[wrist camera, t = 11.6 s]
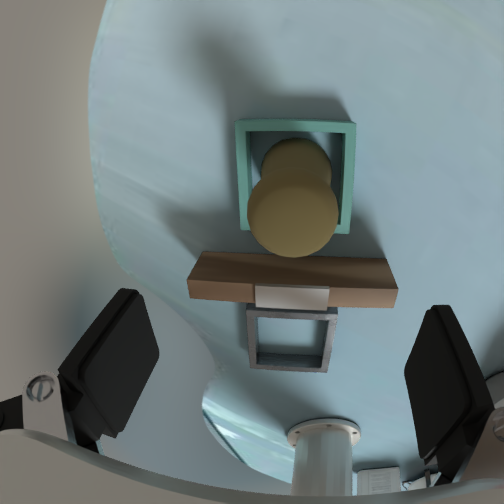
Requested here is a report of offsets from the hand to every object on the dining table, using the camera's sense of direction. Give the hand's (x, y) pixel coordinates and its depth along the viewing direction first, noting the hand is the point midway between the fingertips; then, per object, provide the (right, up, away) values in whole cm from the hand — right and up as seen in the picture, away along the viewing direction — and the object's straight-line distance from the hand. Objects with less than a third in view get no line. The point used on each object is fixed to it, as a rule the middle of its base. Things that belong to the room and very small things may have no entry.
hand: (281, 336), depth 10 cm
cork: (+3, +9, +16) cm, 19 cm away
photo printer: (+28, -47, +44) cm, 70 cm away
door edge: (+3, +1, +20) cm, 21 cm away
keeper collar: (+4, -6, +25) cm, 26 cm away
